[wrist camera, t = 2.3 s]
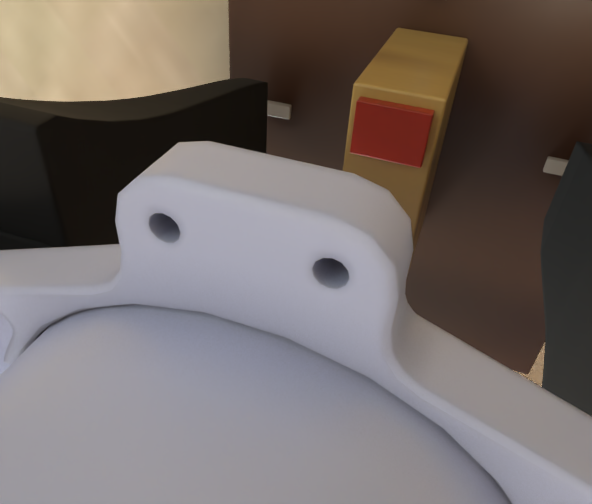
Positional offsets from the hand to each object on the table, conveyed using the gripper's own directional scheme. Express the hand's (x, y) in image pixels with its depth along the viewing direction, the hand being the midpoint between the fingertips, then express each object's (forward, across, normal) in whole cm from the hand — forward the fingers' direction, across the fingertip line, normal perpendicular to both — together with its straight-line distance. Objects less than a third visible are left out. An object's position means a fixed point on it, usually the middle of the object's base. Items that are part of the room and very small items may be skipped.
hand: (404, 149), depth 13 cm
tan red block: (+1, 0, 0) cm, 1 cm away
